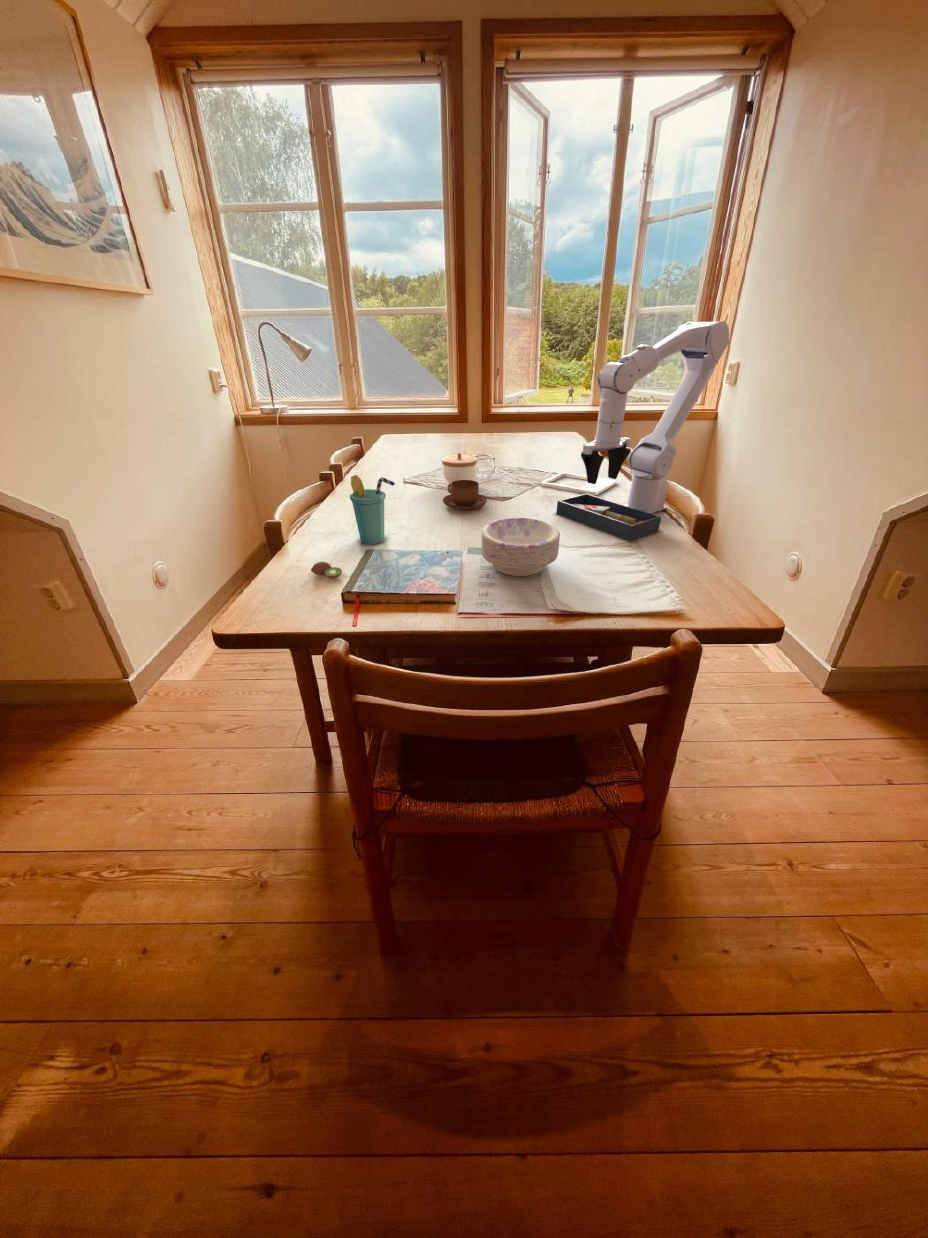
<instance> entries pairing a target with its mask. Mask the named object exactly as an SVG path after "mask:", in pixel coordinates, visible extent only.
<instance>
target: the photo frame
mask: <svg viewBox="0 0 928 1238" xmlns="http://www.w3.org/2000/svg"><path fill="white" fill-rule="evenodd" d="M562 477H567V478H568V477H569V478H575V479H581V480H585V481H587V475H581V474H577V473H572V472H564V471H563V472H560V473H558V474H556V475H553V476H551V477H549V478H547V479H544V480H543V481H541V482H540V486H543V487H549V488H553V489H559V490H564V491H571V492H576V493H582V494H586V493H587V494H590V495H593V496H597V495H599V494H601V493H603V492H605V491H607V490H608V489H610V488H611V487H613V486H615V485H617V480H615V479H608V478H601V477H598V479H597V482H596V484H590V483H587V484H586V485H584V486H582V487H581V488H580V487H574V486H569V485H564V484H558V483H553V481H556V480H558V479H560V478H562Z"/></svg>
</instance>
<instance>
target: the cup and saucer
mask: <svg viewBox="0 0 928 1238" xmlns="http://www.w3.org/2000/svg"><path fill="white" fill-rule="evenodd" d="M479 487H480V484H479V482H478V481H476V480H473V481H472V480H458V481H454V482H452V483H451V484H449V483H448V485H447V491H448V495H445V496H444V497H443V498H442V503H443V504H444V505H445V507H448V508H451V509H453V510H458V511H459V510H460V511H469V510H476V509H480V508H482V507H484V506H485V505H486V504H487V502H488V498H487V497H486V496H485V495H482V494H480V493H479Z"/></svg>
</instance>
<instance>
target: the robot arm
mask: <svg viewBox="0 0 928 1238" xmlns="http://www.w3.org/2000/svg"><path fill="white" fill-rule="evenodd" d="M729 344H730V328H729V325H728V322H726V321H724V320H719V321H692V320H691V321H687V322H686V323H684V324H681V325H679V326H678V328H677V330H675V331H674V332H673V333H671V334H670V335H668V336H666V337H665V338H663V339H662V340H661V341H658V342H657V343H656V344H655V345H653V346H652V345H649V344H639V345H638V346H636V350H634V351H633V352H631V353H629V354H627V355H622V356H620V358H619V360H618V361H615V362H614V361H610V362H608V363H606V364H604V365H603V367H602V368H601V370H600V371H599V374H598V375H597V376H596V383H597V387H598V388H599V393H598V395H599V405H598V406H599V407H598V415H597V423H596V430H595V439H594V440H593V441H590V442H588V443H585V444H583V445H582V451H581V452H580V458H581V460H582V462H583V464H584V467H585V473H586V476H587V480H586V481H587V484H596V482H597V479H598V478H599V474H600V469H601V466H602V464H603V462H604V460H605V458H606V456H605V455H602V454H600V452H603V451H604V452H605V451H607V457H608V468H607V477H608V478H609V479H611V480H617V479H618V477H619V474H620V471H621V469H622V467H623V464H624V462H625V461H626V460H627V463H628V467H629V468H630V469H631V470H630V474H632V477H631V482H630V489H629V494H628V500H627V503H626V504H624V505H625V506H629V507H632V508H635V509H638V510H642V511H645V512H648V513H651V514H654V513H657V512H660V511H664V510H667V506H666V505H665V502H666V496H667V491H668V487H669V481H668V478H667V476H666V475H668V474H669V472H670V471H671V469H672V467H673V462H674V460H675V457H676V456H677V454H678V451H677V448H676V445H675V444H674V441H675V439H676V438H677V436H678V434H679V432H680V431H681V429H682V427H683V426H684V424H685V422H686V420H687V419H688V417H689V415H690V413H691V412H692V410H693V408H694V406H695V405H696V403H697V402H698V399H699V398H700V397H701V394H702V393H703V391H704V389H705V387H706V386H707V384H708V382H709V381H710V379H711V377H712V375H713V374H714V371H715V369H716V366H717V364H718V363H719V361H720V360H721V357H722V356H723V354H724V353H725V351H726V349H727V348H728V346H729ZM677 353H679V354H680V356H681V358H682V359H681V360H682V362H683V365H684V366H686V370H687V371H686V373H685V375H684V377H683V378H682V380H681V382H680V383H679V385H678V387H677V389H676V391H675V393H674V395H673V396H672V398H671V400H670V401H669V404H668V405H667V407H666V408H665V410H664V412H663V414H662V415H661V417H660V419H659V421H658V423H657V424H656V426H655V428H654V430H652V431H653V432H652V433H650V434H648V435H645V436H643V437H642V438H640V440H639V442H638V444H637V445H636V446H635V447H633V448H632V449H631V448H629V447H630V445H631V437H625V436H622V434H623V433H622V432H623V426H624V419H625V413H626V406H627V400H628V393H629V392H631V390H632V389H633V388H634V387H635V385H636V382H637V381H639V380H640V379H642V378H644V377H646V376H648V375H649V374H651V373H653V372H655V370H656V369H657V368H658V366H659V363H660V362H661V361H663V360H665V359H667V358H669V357H671V356H673V355H675V354H677ZM608 478H607V479H608Z"/></svg>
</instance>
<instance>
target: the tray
mask: <svg viewBox="0 0 928 1238" xmlns="http://www.w3.org/2000/svg"><path fill="white" fill-rule="evenodd" d="M572 504H583V505H593V506H604V507H610V509H609V510H608V511H609V512H613V513H616V514H620V515H623V516H627V517H630V518H634V519H637V520H639V521H640V520H641V521H643V522H640V523H637V524H633V525H630V524H627V523H624V522H621V521H619V520H616V519H613V518H610V517H607V516H604V515H601V514H598V513H595V512H592V511H589V510H586V509H583V508H580V507H577V506H574V505H572ZM625 505H626V504H622V503H618V502H617V501H616V502H615V501H612V500H609V499H605V498H603V497H600V496H597V495H592V494H587V493H582V494H579V495H575V496H570V497H567V498H566V497H565V498H563V499H559V500H557V503H556V512H555V513H556V515H557V516H561V517H562V518H565V519H568V520H570V521H574V522H575V523H576V522H577V523H579V524H582V525H584V526H587V527H590V528H592V529H595V530H597V531H601V532H604V533H606V534H608V535H612V536H614V537H617V538H619V539H622V540H624V541H628V542H631V541H634V540H637V539H640V538H644V537H646V536H648V535H652V534H654V533H657V532H659V530H660V527H661V522H662V516H661V515H657V514H654V513H648V512H645V511H642V510H638V509H635V508H632V507H629V506H625Z"/></svg>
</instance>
